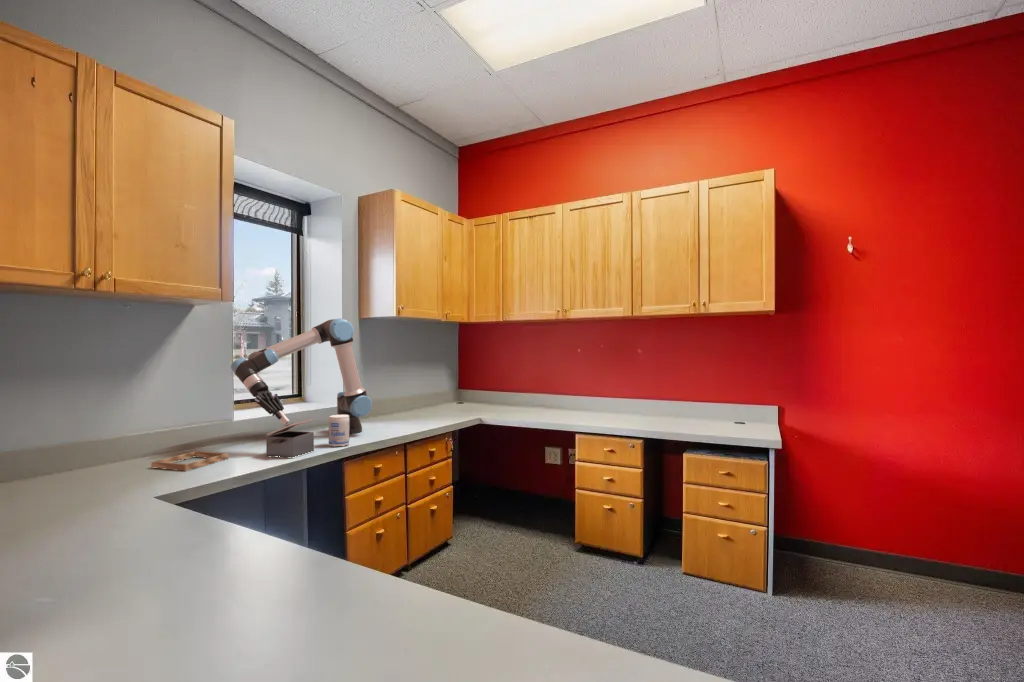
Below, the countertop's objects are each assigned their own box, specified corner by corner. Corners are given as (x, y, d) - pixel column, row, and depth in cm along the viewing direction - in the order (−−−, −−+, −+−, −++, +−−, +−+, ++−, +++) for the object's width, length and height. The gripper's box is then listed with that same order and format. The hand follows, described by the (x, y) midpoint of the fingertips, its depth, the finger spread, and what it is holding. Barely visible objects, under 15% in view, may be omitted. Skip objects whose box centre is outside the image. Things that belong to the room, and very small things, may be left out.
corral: (195, 456, 215) (195, 451, 215) (227, 459, 210) (227, 453, 210) (151, 468, 196) (151, 462, 196) (186, 471, 191) (186, 464, 191)
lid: (287, 430, 229) (286, 427, 229) (312, 420, 225) (311, 417, 225) (265, 436, 215) (264, 432, 215) (292, 425, 212) (290, 422, 212)
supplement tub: (330, 448, 231) (329, 417, 231) (327, 444, 239) (327, 415, 239) (351, 446, 236) (350, 416, 236) (347, 442, 244) (347, 413, 244)
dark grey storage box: (291, 448, 231) (291, 429, 231) (317, 450, 227) (316, 431, 227) (262, 457, 213) (262, 437, 213) (289, 459, 209) (289, 439, 209)
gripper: (262, 390, 232) (291, 426, 227) (240, 393, 219) (271, 431, 215) (271, 379, 230) (301, 415, 226) (250, 381, 218) (281, 419, 213)
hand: (286, 423), depth 220 cm, fingers closed
